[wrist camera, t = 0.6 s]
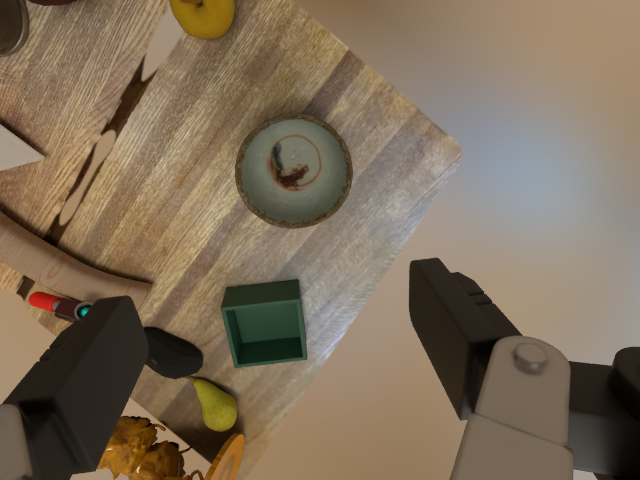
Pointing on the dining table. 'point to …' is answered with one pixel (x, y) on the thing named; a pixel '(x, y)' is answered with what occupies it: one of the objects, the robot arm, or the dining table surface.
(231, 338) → the bin
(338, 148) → the bowl
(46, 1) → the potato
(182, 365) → the gaming mouse
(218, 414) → the fruit
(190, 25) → the apple
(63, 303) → the toy gun
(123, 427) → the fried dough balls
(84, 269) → the axe
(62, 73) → the dining table surface
